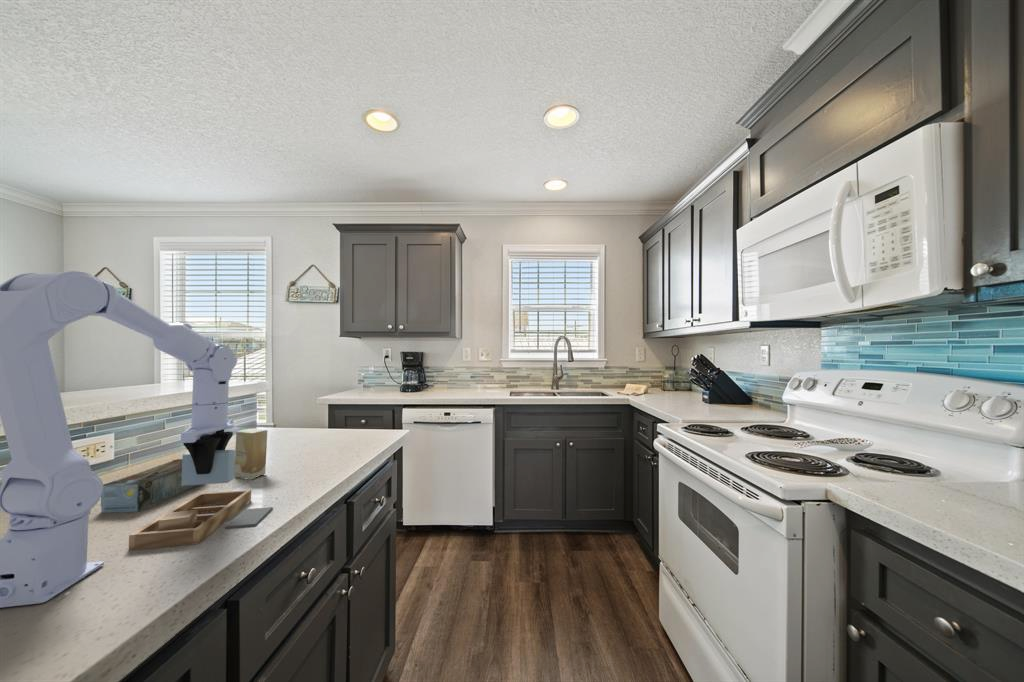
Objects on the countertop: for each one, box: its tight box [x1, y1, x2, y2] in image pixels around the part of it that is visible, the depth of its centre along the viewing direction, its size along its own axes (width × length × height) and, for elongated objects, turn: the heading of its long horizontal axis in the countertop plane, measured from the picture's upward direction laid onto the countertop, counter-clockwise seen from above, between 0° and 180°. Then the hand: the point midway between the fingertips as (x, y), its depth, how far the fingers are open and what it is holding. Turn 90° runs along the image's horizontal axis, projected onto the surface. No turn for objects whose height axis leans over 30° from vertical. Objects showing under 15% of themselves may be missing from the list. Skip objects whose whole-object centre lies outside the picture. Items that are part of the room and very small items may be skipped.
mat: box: [224, 506, 274, 529], centre depth 75 cm, size 8×5×1 cm, turn 12°
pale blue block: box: [181, 449, 235, 486], centre depth 76 cm, size 2×8×6 cm, turn 102°
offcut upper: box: [158, 510, 198, 531], centre depth 67 cm, size 3×4×2 cm
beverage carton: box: [100, 458, 198, 513], centre depth 87 cm, size 8×19×7 cm, turn 2°
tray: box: [128, 489, 252, 551], centre depth 73 cm, size 20×10×2 cm, turn 12°
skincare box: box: [234, 428, 268, 480], centre depth 101 cm, size 6×4×12 cm
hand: (208, 471), depth 76 cm, fingers closed on pale blue block, 2 cm apart
